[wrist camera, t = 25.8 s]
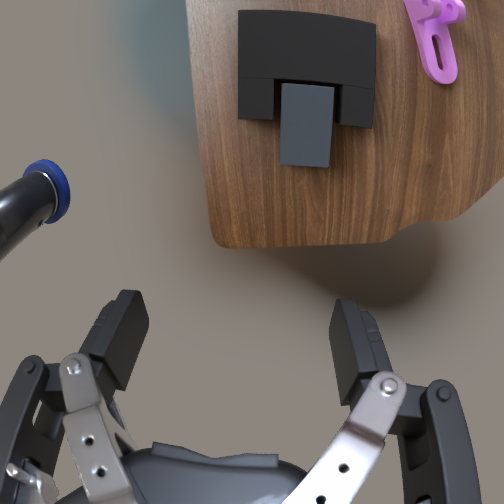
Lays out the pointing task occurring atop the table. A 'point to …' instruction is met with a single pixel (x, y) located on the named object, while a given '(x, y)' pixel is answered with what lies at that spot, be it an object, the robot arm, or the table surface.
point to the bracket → (436, 34)
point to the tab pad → (305, 125)
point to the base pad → (306, 61)
